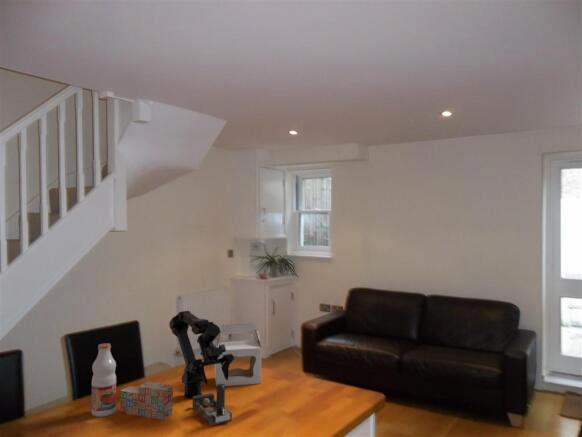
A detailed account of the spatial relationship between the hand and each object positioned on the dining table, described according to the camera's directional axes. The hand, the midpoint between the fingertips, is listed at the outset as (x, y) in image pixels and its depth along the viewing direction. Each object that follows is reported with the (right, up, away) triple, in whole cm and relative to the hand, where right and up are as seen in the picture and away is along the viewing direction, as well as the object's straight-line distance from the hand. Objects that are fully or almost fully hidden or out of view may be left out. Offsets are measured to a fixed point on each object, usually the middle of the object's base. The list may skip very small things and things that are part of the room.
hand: (217, 382), depth 192 cm
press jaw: (+2, -12, -8) cm, 14 cm away
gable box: (+4, -14, +41) cm, 43 cm away
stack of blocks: (-29, -13, 0) cm, 32 cm away
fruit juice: (-47, -13, +1) cm, 49 cm away
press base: (-2, -13, 0) cm, 13 cm away
